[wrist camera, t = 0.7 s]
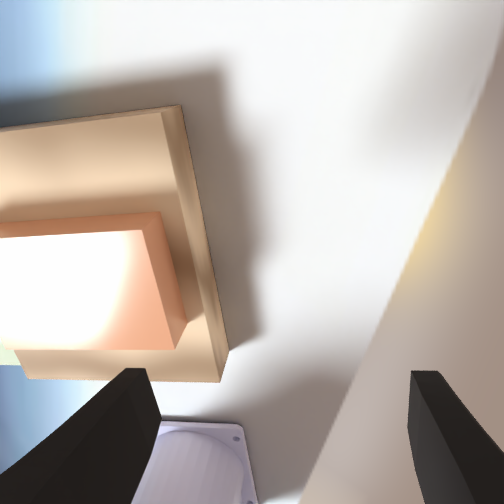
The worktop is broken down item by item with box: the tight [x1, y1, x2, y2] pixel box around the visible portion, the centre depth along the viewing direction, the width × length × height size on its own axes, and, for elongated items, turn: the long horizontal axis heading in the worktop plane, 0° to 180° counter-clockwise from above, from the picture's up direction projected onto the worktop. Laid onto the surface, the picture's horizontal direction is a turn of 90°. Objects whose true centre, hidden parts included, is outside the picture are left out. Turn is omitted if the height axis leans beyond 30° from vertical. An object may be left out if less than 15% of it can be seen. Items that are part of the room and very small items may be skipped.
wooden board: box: [0, 105, 229, 383], centre depth 20 cm, size 14×12×2 cm
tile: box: [0, 211, 188, 350], centre depth 18 cm, size 6×9×2 cm, turn 97°
